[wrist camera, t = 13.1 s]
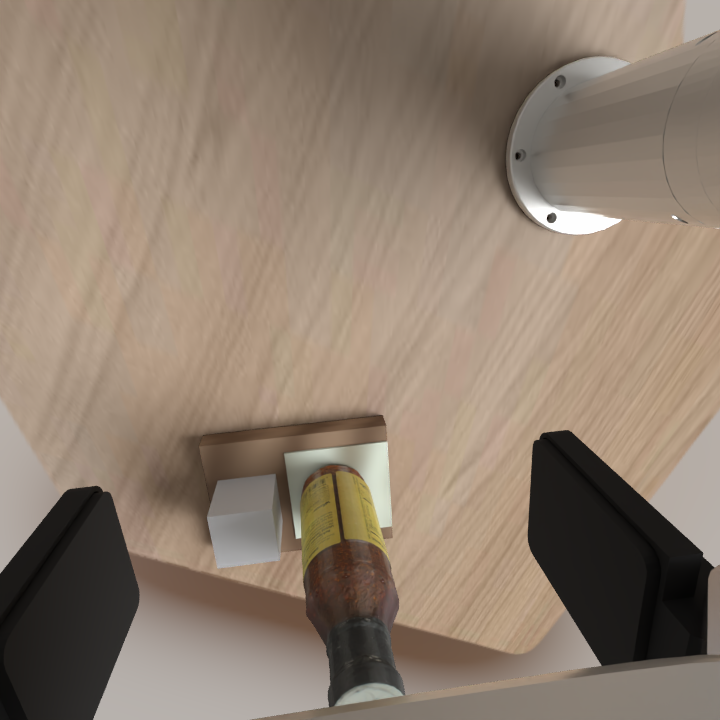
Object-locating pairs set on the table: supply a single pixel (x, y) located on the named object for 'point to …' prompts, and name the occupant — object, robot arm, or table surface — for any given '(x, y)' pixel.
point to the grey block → (246, 521)
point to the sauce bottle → (349, 585)
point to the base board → (303, 463)
